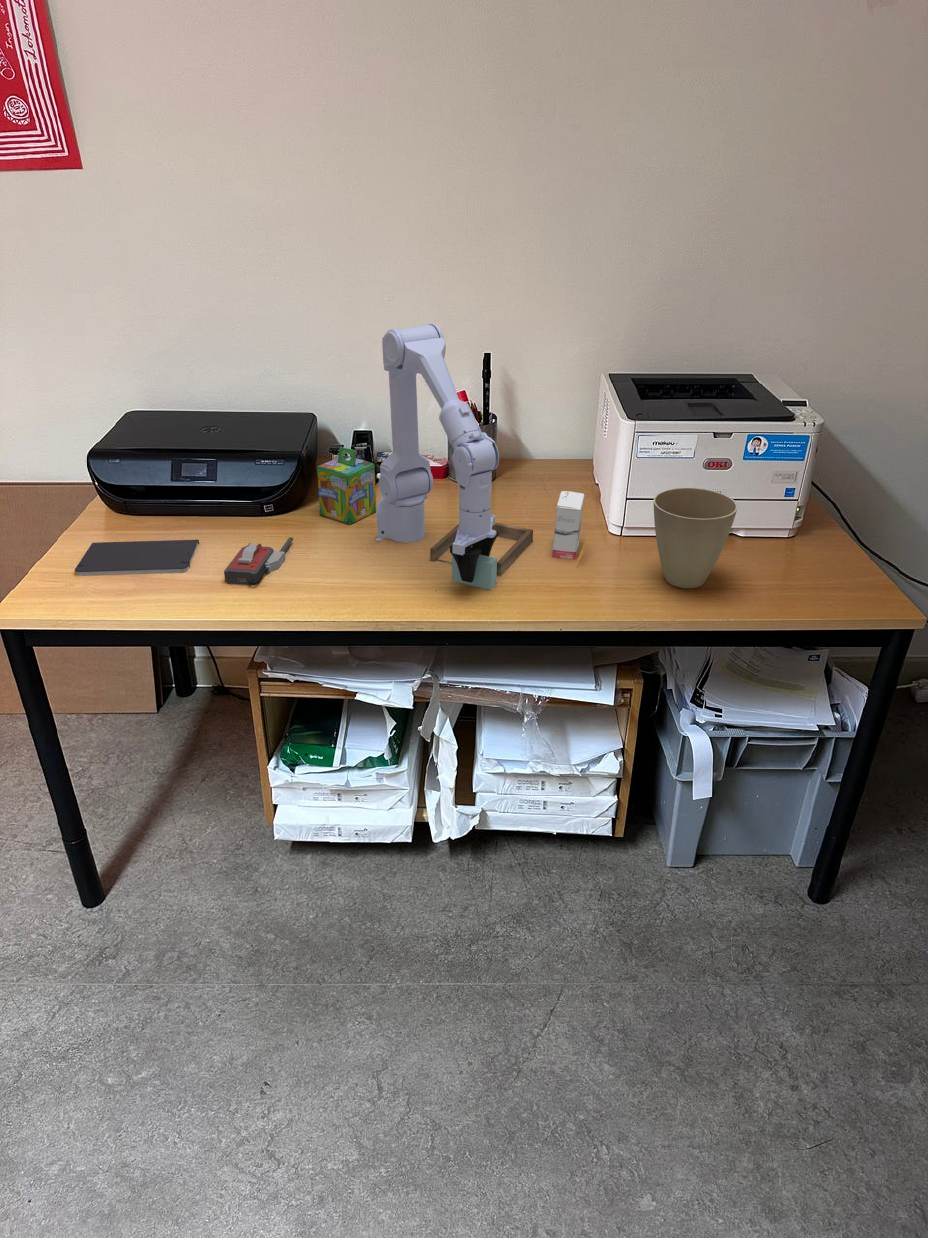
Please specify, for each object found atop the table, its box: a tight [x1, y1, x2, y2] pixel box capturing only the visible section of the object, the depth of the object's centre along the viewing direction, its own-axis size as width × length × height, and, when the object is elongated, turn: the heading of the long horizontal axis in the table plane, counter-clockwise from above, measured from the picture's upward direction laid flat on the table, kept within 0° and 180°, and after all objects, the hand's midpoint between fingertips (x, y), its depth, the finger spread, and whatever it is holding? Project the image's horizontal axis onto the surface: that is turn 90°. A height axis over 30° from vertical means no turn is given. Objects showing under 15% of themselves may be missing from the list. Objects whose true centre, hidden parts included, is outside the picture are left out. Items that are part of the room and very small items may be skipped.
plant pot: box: [653, 486, 739, 589], centre depth 160 cm, size 15×15×16 cm
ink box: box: [551, 490, 585, 560], centre depth 171 cm, size 9×5×12 cm, turn 168°
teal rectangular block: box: [451, 554, 498, 591], centre depth 160 cm, size 8×2×6 cm, turn 65°
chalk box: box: [316, 446, 377, 526], centre depth 187 cm, size 9×9×15 cm
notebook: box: [74, 539, 200, 577], centre depth 171 cm, size 13×2×21 cm
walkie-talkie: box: [223, 536, 294, 586], centre depth 168 cm, size 9×4×20 cm
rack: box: [429, 522, 534, 577], centre depth 172 cm, size 15×17×4 cm
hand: (474, 573), depth 160 cm, fingers open, 5 cm apart
